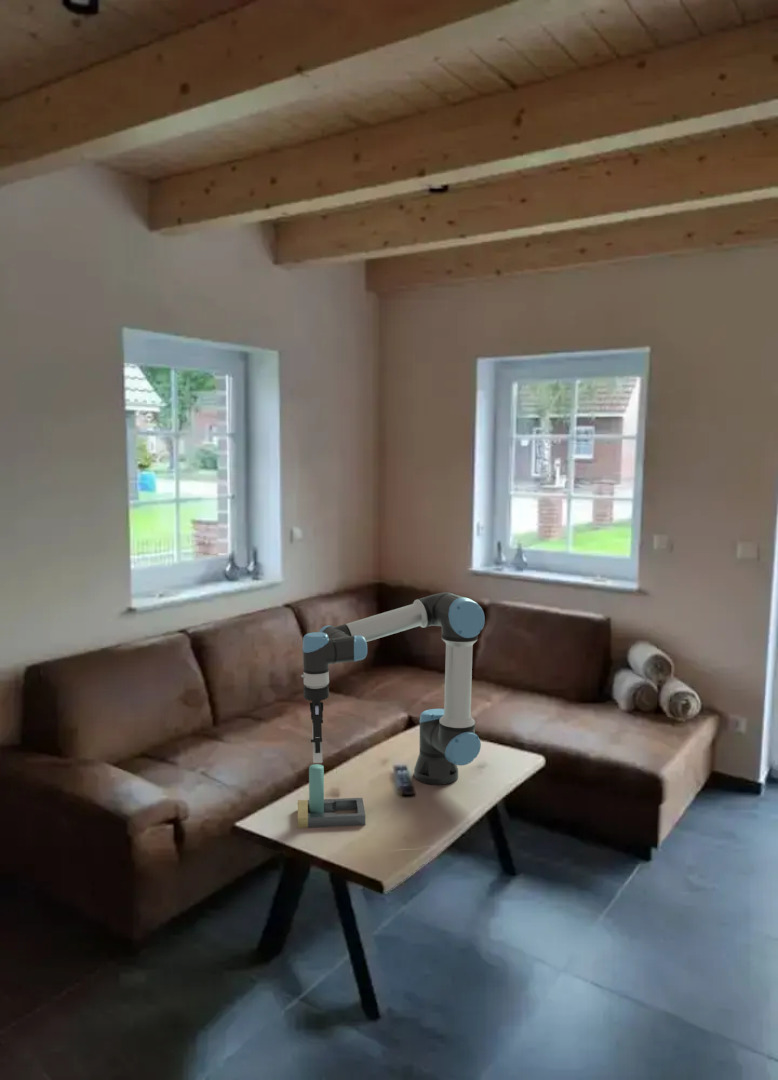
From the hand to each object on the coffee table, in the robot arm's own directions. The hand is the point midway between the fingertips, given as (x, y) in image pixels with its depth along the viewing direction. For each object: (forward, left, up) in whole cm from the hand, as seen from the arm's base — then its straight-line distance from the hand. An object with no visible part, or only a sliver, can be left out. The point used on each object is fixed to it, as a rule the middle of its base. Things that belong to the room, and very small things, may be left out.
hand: (317, 753), depth 236 cm
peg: (0, 0, -20) cm, 20 cm away
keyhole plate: (-4, 0, -20) cm, 21 cm away
